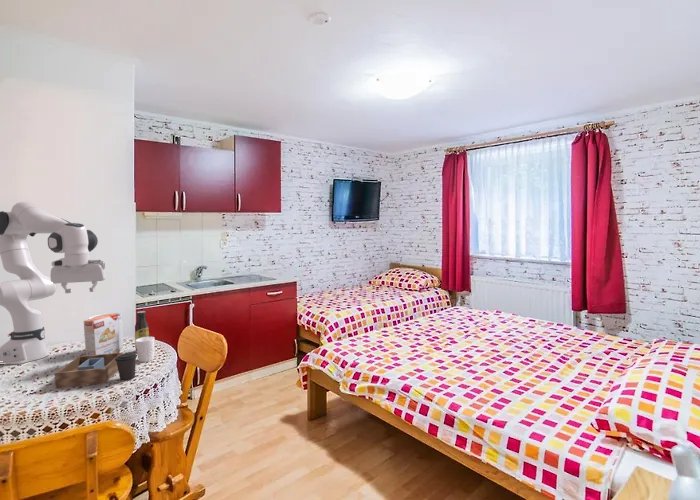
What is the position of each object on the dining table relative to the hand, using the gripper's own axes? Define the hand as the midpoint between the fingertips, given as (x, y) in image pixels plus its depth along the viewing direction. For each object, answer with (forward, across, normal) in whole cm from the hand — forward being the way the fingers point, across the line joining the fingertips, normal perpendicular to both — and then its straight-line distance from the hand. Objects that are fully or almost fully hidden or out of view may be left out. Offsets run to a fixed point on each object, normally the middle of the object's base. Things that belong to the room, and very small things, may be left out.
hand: (80, 292), depth 167 cm
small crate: (+34, -5, +7) cm, 35 cm away
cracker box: (+35, -2, -13) cm, 38 cm away
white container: (+35, +3, -31) cm, 47 cm away
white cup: (+35, -22, -8) cm, 42 cm away
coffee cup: (+35, -21, +14) cm, 43 cm away
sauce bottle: (+35, -16, -23) cm, 45 cm away
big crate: (+35, -5, +7) cm, 36 cm away
